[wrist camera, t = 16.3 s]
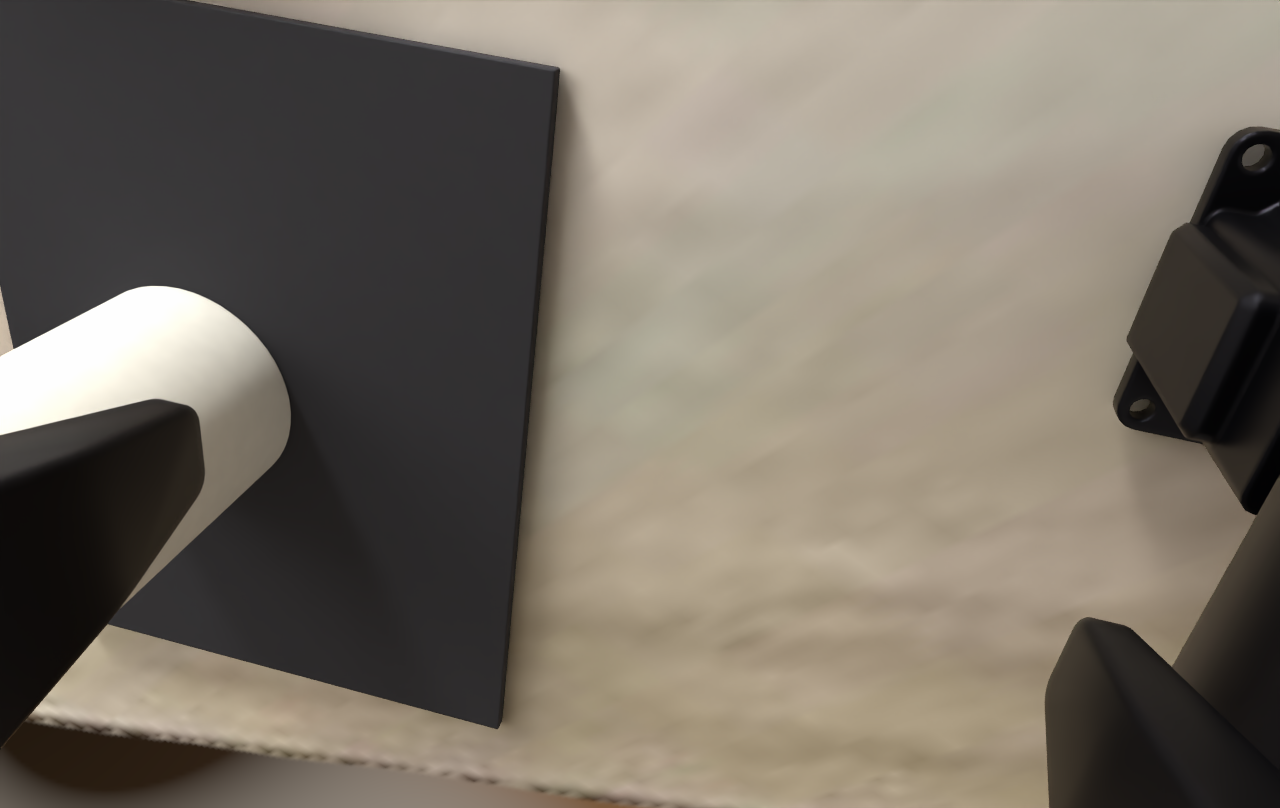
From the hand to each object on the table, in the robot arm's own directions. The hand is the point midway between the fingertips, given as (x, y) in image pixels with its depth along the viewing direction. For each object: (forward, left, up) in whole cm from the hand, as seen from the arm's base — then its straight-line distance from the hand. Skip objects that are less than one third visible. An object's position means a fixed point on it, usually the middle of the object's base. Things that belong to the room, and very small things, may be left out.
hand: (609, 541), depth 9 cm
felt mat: (+12, +8, -13) cm, 19 cm away
